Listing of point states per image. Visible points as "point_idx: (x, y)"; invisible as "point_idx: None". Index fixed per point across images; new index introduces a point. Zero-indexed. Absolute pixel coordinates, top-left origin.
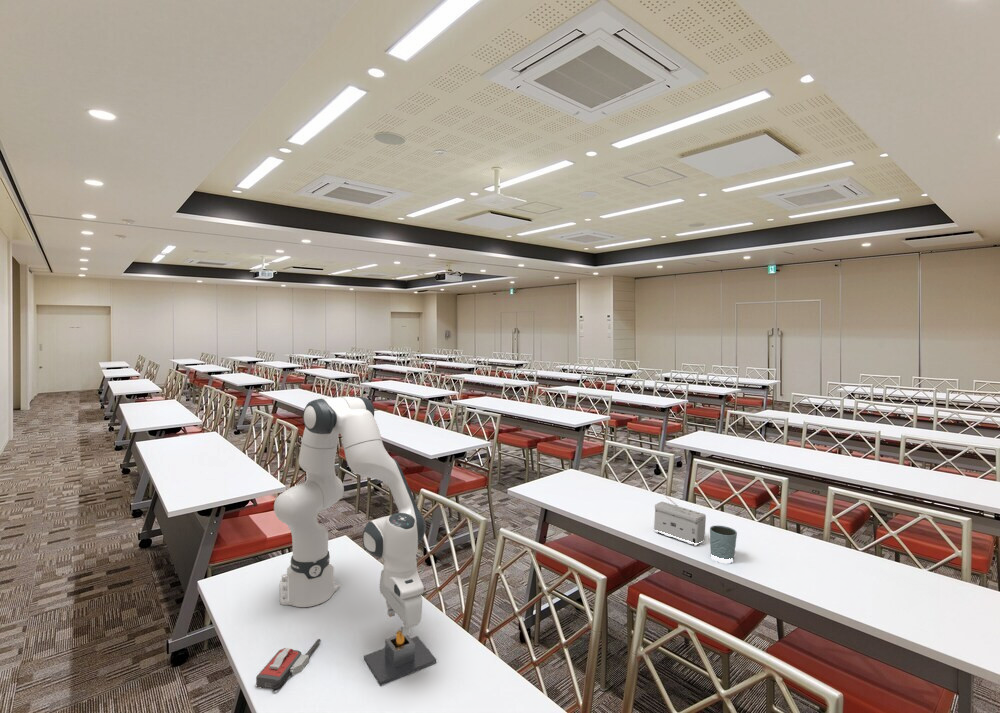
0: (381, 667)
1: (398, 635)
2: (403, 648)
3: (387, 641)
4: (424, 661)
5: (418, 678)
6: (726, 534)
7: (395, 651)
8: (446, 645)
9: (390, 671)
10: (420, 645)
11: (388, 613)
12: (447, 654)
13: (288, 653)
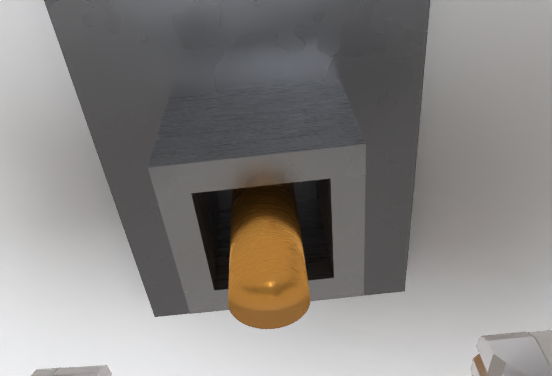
0: (210, 15)
1: (240, 280)
2: (170, 239)
3: (324, 154)
4: (161, 268)
5: (56, 198)
6: None
7: (152, 178)
8: (270, 362)
9: (137, 66)
10: None
11: (530, 357)
12: (202, 350)
13: None
